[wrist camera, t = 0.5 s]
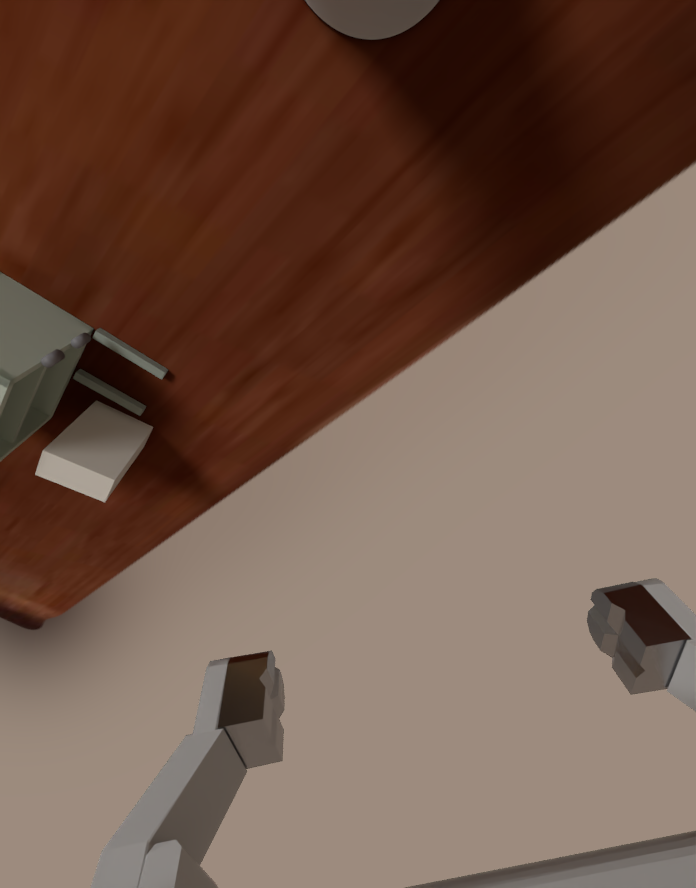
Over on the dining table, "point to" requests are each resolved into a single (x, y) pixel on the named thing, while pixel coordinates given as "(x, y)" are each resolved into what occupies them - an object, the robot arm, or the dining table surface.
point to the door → (94, 451)
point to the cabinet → (47, 362)
